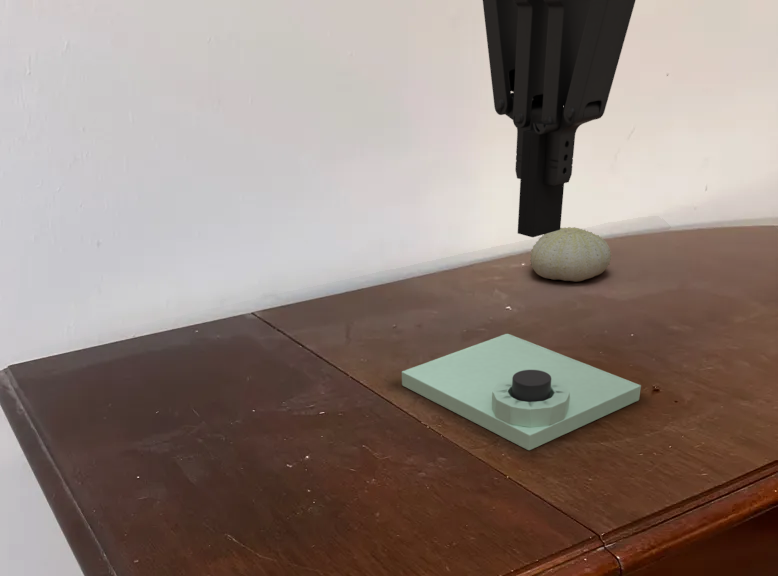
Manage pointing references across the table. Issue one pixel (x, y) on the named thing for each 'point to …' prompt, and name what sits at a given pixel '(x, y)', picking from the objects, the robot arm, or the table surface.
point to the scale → (494, 389)
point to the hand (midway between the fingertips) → (538, 231)
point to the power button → (531, 385)
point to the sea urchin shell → (570, 255)
